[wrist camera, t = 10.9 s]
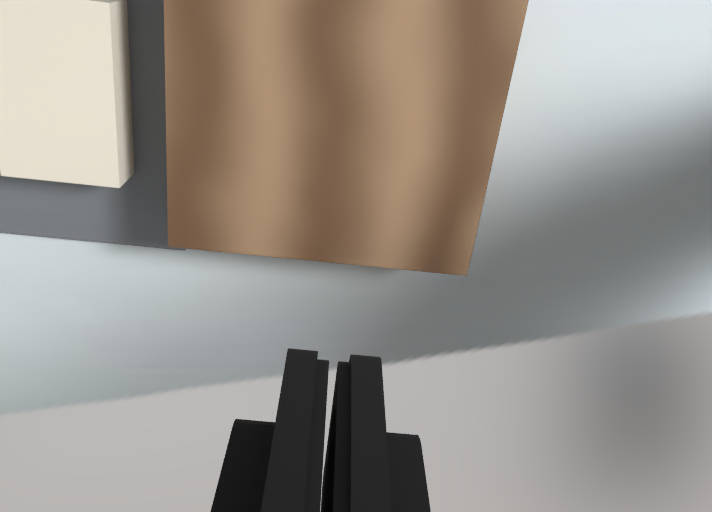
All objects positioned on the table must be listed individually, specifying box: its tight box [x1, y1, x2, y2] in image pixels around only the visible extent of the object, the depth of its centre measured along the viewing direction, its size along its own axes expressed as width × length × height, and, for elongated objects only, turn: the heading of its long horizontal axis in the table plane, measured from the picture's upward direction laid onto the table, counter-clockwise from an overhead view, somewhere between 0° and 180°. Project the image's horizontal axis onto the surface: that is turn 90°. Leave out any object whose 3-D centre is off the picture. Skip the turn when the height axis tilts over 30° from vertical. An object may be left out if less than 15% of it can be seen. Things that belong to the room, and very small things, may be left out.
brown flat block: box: [164, 0, 529, 276], centre depth 31 cm, size 16×14×4 cm
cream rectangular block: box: [0, 0, 134, 188], centre depth 31 cm, size 6×9×2 cm, turn 173°
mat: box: [0, 0, 186, 250], centre depth 32 cm, size 16×18×1 cm
